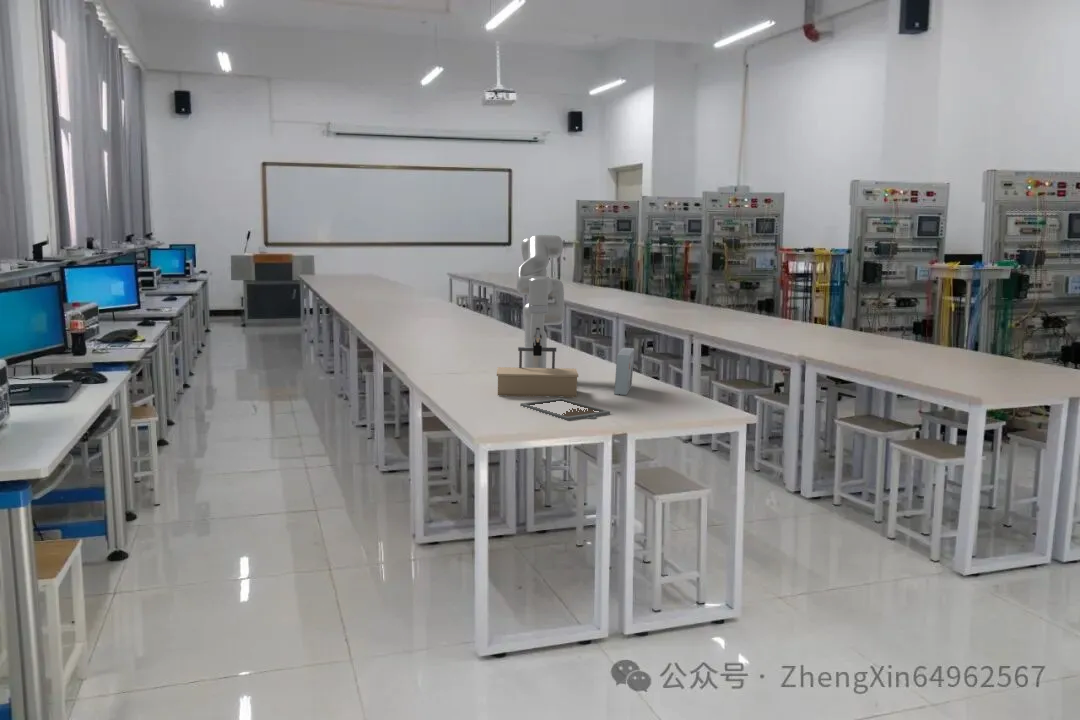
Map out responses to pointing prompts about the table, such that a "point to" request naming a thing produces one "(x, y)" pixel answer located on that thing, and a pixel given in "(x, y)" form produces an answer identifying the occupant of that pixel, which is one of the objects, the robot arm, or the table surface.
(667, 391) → the table surface
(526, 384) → the mailer box
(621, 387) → the skincare box
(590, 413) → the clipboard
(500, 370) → the lid
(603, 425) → the table surface
